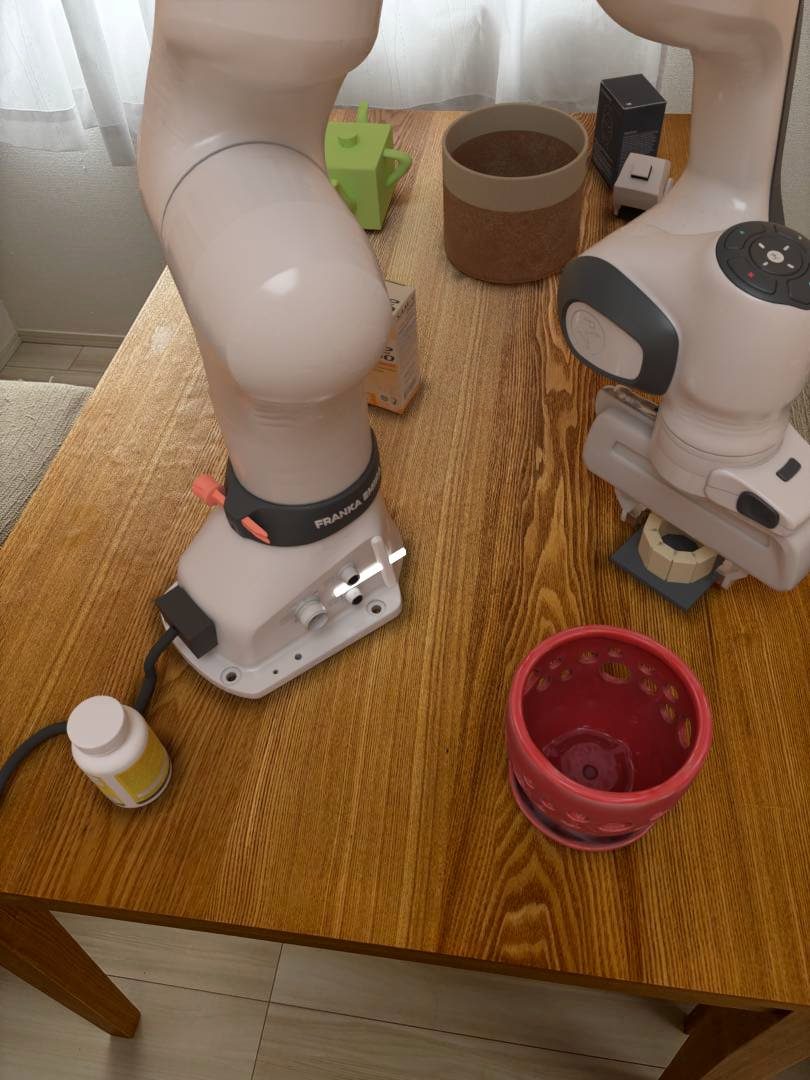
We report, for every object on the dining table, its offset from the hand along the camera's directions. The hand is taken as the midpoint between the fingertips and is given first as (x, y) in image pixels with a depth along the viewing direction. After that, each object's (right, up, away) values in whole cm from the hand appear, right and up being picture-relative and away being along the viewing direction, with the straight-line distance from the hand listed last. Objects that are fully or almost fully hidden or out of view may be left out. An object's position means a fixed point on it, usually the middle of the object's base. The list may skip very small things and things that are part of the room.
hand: (676, 549), depth 75 cm
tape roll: (0, 0, +1) cm, 1 cm away
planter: (-11, +36, +30) cm, 48 cm away
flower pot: (-10, -17, -10) cm, 22 cm away
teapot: (-30, +43, +36) cm, 64 cm away
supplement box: (-27, +16, +16) cm, 35 cm away
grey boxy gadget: (+5, +41, +32) cm, 52 cm away
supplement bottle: (-44, -18, -8) cm, 48 cm away
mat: (0, -1, +1) cm, 2 cm away
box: (+5, +49, +39) cm, 63 cm away
